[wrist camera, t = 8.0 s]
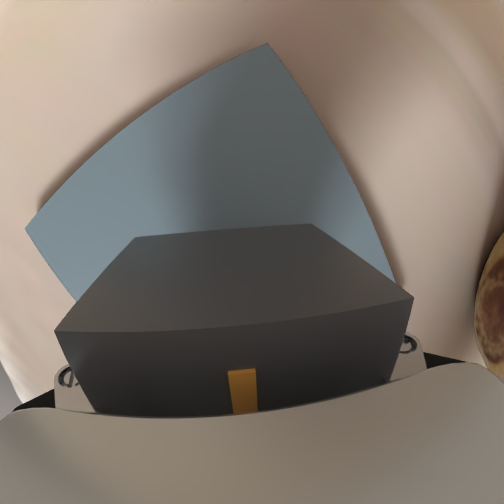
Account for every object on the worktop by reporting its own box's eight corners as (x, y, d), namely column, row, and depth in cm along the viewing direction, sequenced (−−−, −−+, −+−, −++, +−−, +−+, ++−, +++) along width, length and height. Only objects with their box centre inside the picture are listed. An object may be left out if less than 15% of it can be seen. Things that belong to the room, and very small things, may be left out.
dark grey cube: (311, 223, 11) (416, 299, 5) (304, 359, 13) (352, 466, 7) (135, 237, 10) (51, 333, 4) (166, 373, 12) (152, 489, 6)
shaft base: (394, 301, 20) (439, 341, 14) (207, 411, 21) (209, 467, 15) (262, 52, 13) (287, 3, 7) (36, 223, 14) (-20, 250, 8)
